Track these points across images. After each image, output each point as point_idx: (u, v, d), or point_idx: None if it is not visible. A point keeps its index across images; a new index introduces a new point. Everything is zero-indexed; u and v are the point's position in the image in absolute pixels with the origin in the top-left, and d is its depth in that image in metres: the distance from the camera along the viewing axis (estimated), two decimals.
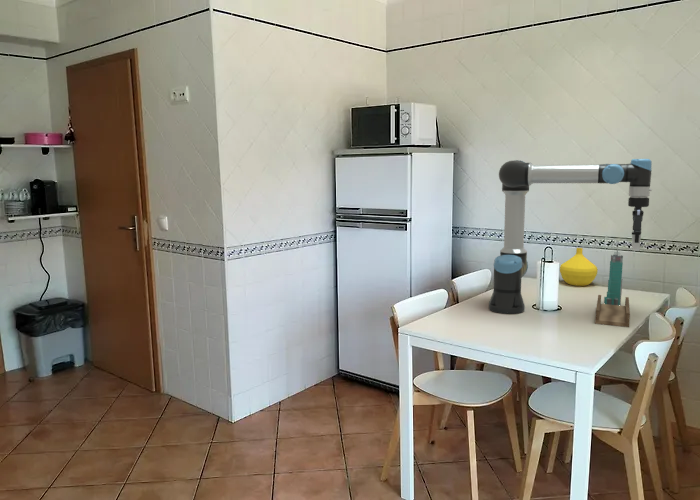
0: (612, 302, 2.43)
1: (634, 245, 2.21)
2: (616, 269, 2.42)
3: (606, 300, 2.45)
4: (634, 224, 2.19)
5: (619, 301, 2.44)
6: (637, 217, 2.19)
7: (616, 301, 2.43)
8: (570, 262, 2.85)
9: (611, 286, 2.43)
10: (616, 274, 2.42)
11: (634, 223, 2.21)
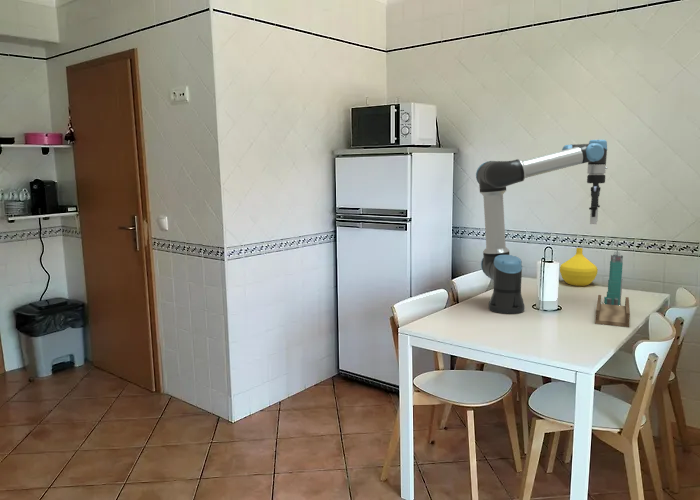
0: (612, 302, 2.43)
1: (591, 219, 2.46)
2: (616, 269, 2.42)
3: (606, 300, 2.45)
4: (591, 200, 2.44)
5: (619, 301, 2.44)
6: (594, 193, 2.43)
7: (616, 301, 2.43)
8: (570, 262, 2.85)
9: (611, 286, 2.43)
10: (616, 274, 2.42)
11: None
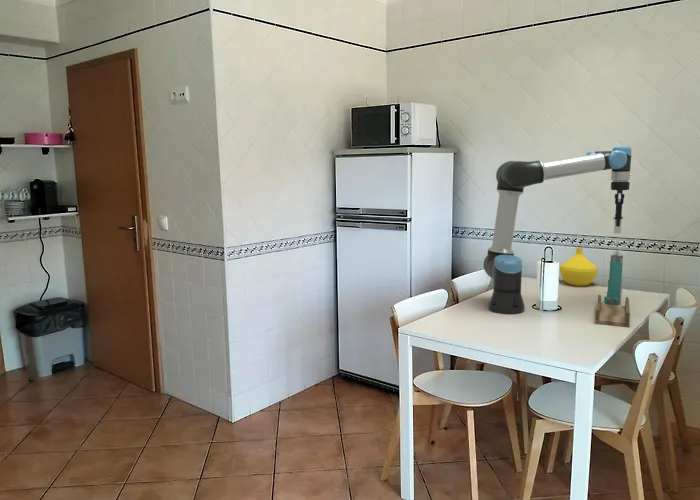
0: (612, 302, 2.43)
1: (616, 228, 2.49)
2: (616, 269, 2.42)
3: (606, 300, 2.45)
4: None
5: (619, 301, 2.44)
6: (618, 204, 2.43)
7: (616, 301, 2.43)
8: (570, 262, 2.85)
9: (611, 286, 2.43)
10: (616, 274, 2.42)
11: None
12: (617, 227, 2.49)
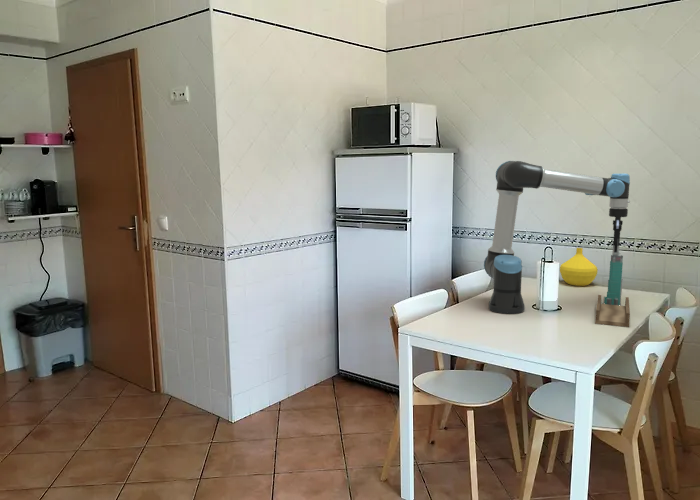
0: (612, 302, 2.43)
1: (614, 254, 2.50)
2: (616, 269, 2.42)
3: (606, 300, 2.45)
4: None
5: (619, 301, 2.44)
6: (616, 231, 2.45)
7: (616, 301, 2.43)
8: (570, 262, 2.85)
9: (611, 286, 2.43)
10: (616, 274, 2.42)
11: None
12: (615, 253, 2.50)
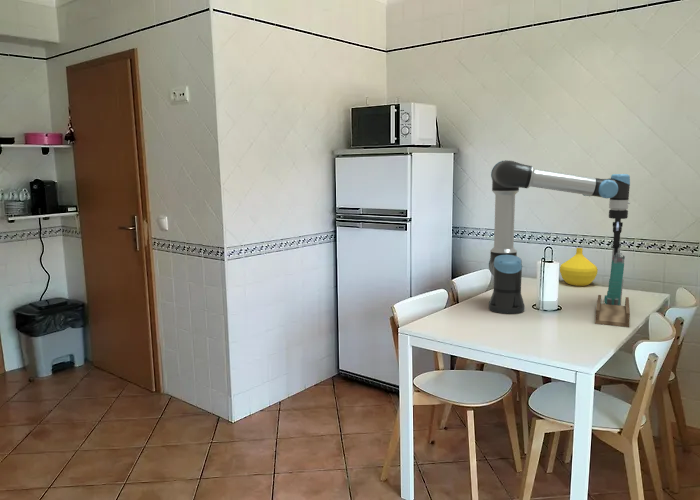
0: (612, 302, 2.43)
1: None
2: (617, 270, 2.40)
3: (606, 300, 2.45)
4: None
5: (619, 301, 2.44)
6: (616, 233, 2.38)
7: (616, 301, 2.42)
8: (570, 262, 2.85)
9: (612, 286, 2.42)
10: (617, 275, 2.40)
11: None
12: None
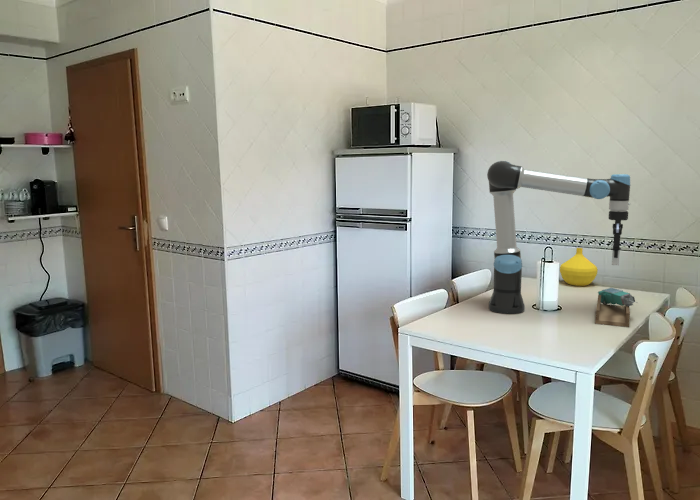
0: None
1: (613, 259, 2.37)
2: None
3: (602, 300, 2.42)
4: None
5: None
6: (616, 235, 2.31)
7: None
8: (570, 262, 2.85)
9: (612, 303, 2.35)
10: None
11: None
12: (615, 258, 2.37)
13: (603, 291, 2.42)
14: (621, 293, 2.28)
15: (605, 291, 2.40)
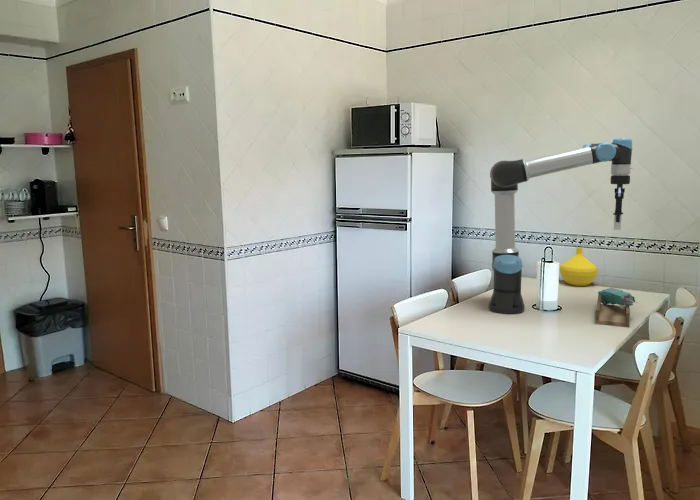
0: None
1: (615, 224, 2.38)
2: None
3: (602, 300, 2.42)
4: None
5: None
6: (618, 199, 2.32)
7: None
8: (570, 262, 2.85)
9: (612, 303, 2.35)
10: None
11: None
12: (617, 223, 2.38)
13: (603, 291, 2.42)
14: (621, 293, 2.28)
15: (605, 291, 2.40)
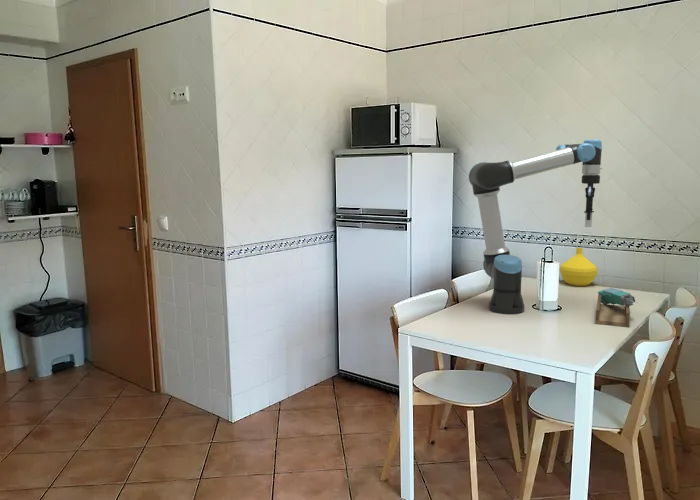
0: None
1: (586, 222, 2.49)
2: None
3: (602, 300, 2.42)
4: (586, 203, 2.45)
5: None
6: (588, 197, 2.43)
7: None
8: (570, 262, 2.85)
9: (612, 303, 2.35)
10: None
11: None
12: (588, 221, 2.48)
13: (603, 291, 2.42)
14: (621, 293, 2.28)
15: (605, 291, 2.40)
